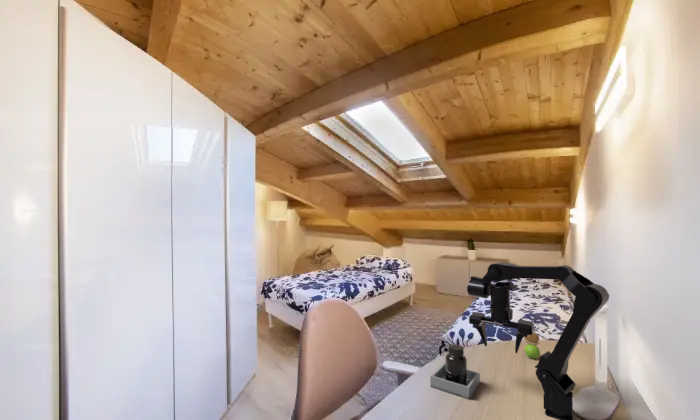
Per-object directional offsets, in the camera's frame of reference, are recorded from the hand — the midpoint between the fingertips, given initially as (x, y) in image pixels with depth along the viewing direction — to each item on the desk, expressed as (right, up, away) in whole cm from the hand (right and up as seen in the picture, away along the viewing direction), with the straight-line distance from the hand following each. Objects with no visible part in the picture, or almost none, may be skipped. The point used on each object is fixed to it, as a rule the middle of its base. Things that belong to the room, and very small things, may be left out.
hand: (500, 349), depth 104 cm
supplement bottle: (-14, -13, +2) cm, 19 cm away
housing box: (-14, -13, +2) cm, 19 cm away
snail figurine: (+24, -14, +24) cm, 37 cm away
